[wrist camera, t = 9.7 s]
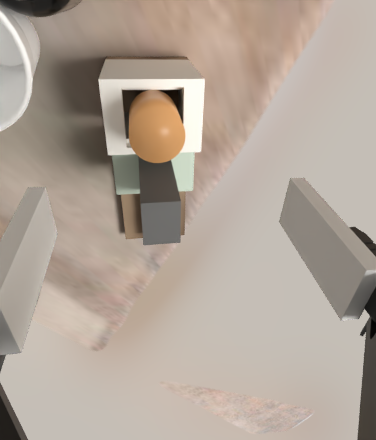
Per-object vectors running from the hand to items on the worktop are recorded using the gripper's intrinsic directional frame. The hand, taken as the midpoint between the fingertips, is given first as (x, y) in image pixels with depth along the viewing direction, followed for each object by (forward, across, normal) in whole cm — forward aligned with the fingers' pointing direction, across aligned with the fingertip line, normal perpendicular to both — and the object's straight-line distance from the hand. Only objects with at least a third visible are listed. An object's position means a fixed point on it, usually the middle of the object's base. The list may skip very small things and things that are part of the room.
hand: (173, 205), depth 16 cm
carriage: (+20, 0, -6) cm, 21 cm away
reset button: (+13, 0, 0) cm, 13 cm away
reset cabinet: (+21, 0, 0) cm, 21 cm away
